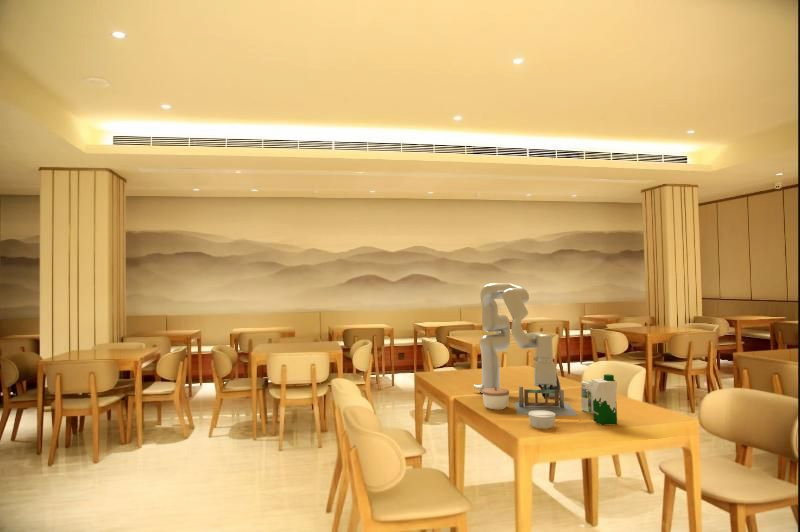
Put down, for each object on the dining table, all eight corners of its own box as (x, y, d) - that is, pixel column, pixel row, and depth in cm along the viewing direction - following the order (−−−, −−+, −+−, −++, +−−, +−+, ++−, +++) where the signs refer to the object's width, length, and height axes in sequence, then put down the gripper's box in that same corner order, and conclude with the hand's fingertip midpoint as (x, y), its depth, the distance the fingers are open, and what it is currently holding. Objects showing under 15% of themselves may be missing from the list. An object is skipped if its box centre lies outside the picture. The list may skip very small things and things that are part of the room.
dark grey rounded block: (562, 396, 274) (561, 367, 274) (559, 400, 264) (558, 370, 265) (542, 395, 278) (541, 366, 279) (538, 399, 269) (538, 369, 269)
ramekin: (544, 431, 213) (543, 418, 213) (522, 425, 222) (522, 413, 222) (561, 426, 219) (561, 413, 219) (540, 421, 228) (539, 408, 228)
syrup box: (581, 413, 239) (580, 381, 240) (591, 412, 242) (590, 380, 242) (589, 416, 234) (589, 383, 235) (600, 414, 236) (599, 382, 237)
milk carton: (620, 425, 220) (619, 376, 220) (599, 425, 219) (598, 377, 219) (610, 419, 228) (609, 373, 229) (590, 420, 228) (589, 373, 228)
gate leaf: (524, 405, 248) (524, 390, 248) (524, 405, 250) (524, 389, 250) (558, 406, 246) (558, 390, 246) (558, 405, 247) (558, 389, 248)
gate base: (517, 417, 235) (517, 393, 235) (513, 404, 258) (513, 383, 259) (578, 418, 231) (577, 394, 231) (568, 405, 255) (567, 383, 255)
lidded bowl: (493, 414, 240) (493, 390, 240) (477, 408, 251) (476, 385, 252) (515, 410, 246) (514, 387, 246) (498, 405, 257) (497, 382, 257)
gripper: (529, 361, 251) (530, 399, 250) (561, 361, 248) (562, 400, 247) (528, 358, 258) (529, 396, 258) (559, 359, 255) (560, 397, 255)
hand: (545, 398), depth 252 cm, fingers closed
